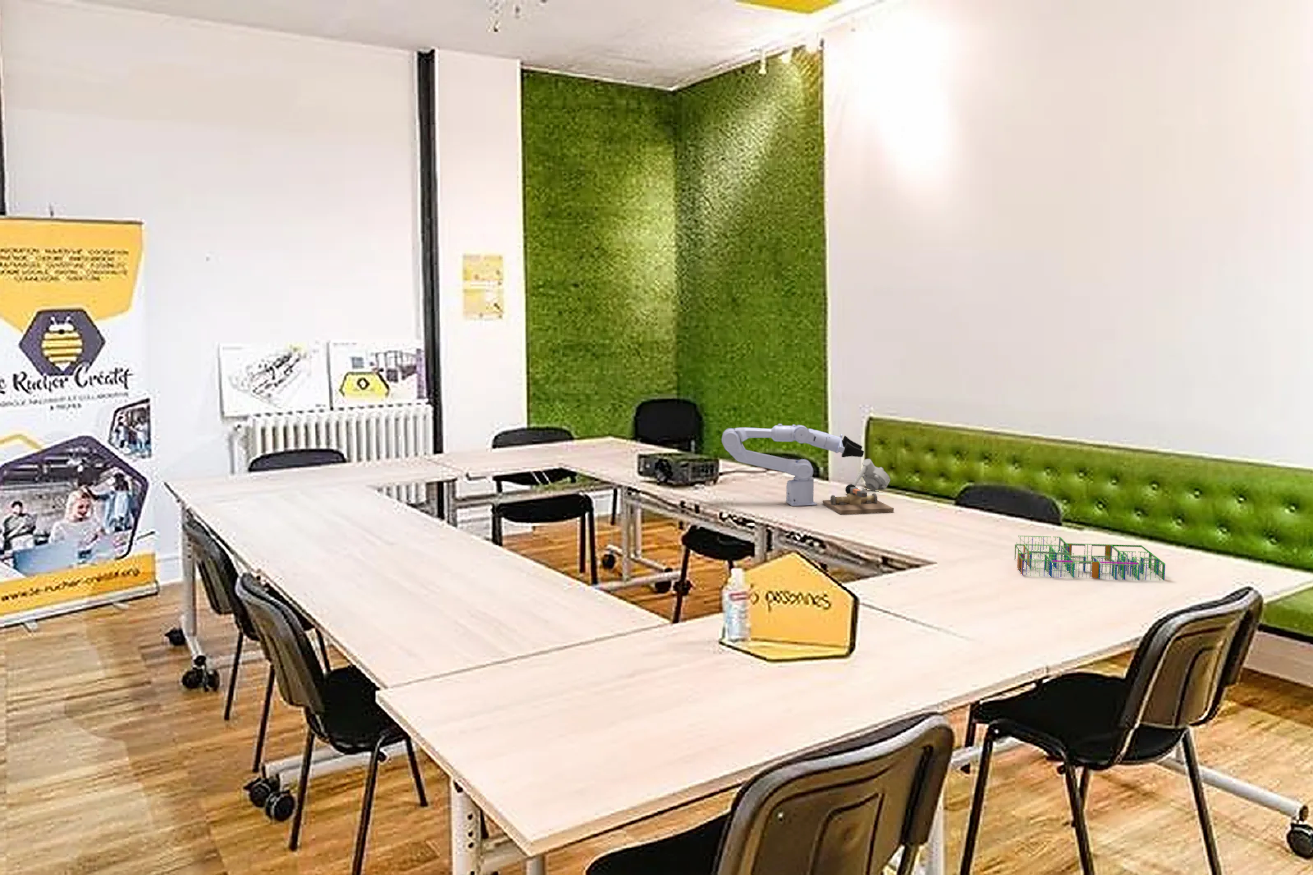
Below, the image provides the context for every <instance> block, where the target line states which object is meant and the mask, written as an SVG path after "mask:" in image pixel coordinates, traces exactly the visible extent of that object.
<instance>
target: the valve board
mask: <svg viewBox="0 0 1313 875" xmlns="http://www.w3.org/2000/svg"><path fill="white" fill-rule="evenodd" d="M822 505H823V506H825V507H827V508H828V509H830V510H832V511H834V512H835V513H837V514H839V515H841V516H842V515H843V516H847V515H865V514H866V515H867V514H869V515H870V514H887V513H892V514H893V513H895V512H894V511H895V510H894V507H893V506H890V505H888V504H886V503H884V502H882V501H880V500H878V495H877V493H872V494H871V495H867V497H862V498H861V497H859V496H857V494H855V493H853V494H847V493H846V496H836V495H834V494H832V495H831V496H830V499H822Z"/></svg>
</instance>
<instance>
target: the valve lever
mask: <svg viewBox="0 0 1313 875" xmlns="http://www.w3.org/2000/svg"><path fill="white" fill-rule="evenodd" d="M850 493H855V494H857V496H859V497H861V498H862V497H867V496H868V492H866V491H864V490H861V489H859V487H858V486H856V487H851V488H850Z"/></svg>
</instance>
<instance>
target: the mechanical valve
mask: <svg viewBox="0 0 1313 875" xmlns="http://www.w3.org/2000/svg"><path fill="white" fill-rule="evenodd" d="M861 478H862V479H863V481H864V482H865V483H864V484H865V487H866V488H867V489H868V490H870V491H875V492H876V491H877V490H882V491H883V490H886V488H888V485H889V483H890V481H891V477H890V476H889V474H888V473H887V472H886V471H885V470H884V467H882V466H880V467H878V466H875V464H874V463H873V461H872V459H871V458H866V459H864V460H863V461H862V468H861V469H860V471H859V473H858V475H857V476H856V477H855V479H854V480H853V482H852V483H850V484H847V485H846V486H845V493H846V495H847V494H853V493H850V488H851V487H857V485H858V483H859V481H860V480H861Z"/></svg>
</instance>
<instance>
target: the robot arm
mask: <svg viewBox="0 0 1313 875" xmlns="http://www.w3.org/2000/svg"><path fill="white" fill-rule="evenodd" d="M753 438H755V439H756V438H757V439H759V438H761V439H763V438H764V439H765V438H767V439H769V438H771V439H772V440H773V442H789V443H790V442H791V443H792V442H797V443H798V444H808V445H811V446H813V447H815V448H820V449H823V450H827V451H830V452H833V453H835V454H838V453H840V454H841V458H846V457H855V458H863V457H864V454H865V450H863V446H862V445H861V444H859V443H856V442H855V441H853V440H851V439H850V438H849V437H848V436H847V435H844V434H843V433H840V436H838V435H835V434H831V433H828V432H825V431H821V430H817V429H813V428H807V427H806V426H805V425H801V424H797V425H796V424H792V425H783V423H778V424H777V425H774V426H772V428H763V427H762V428H759V427H745V426H744V427H735V428H734V427H733V428H732V427H728V428H726V429H725V430H724V431H723V432H722V436H721V443H722V445H723V447H724V450H725V451H727V452H728V453H729V455H730V456H732V458H734V459H735V460H736V461H737V462H739V463H743V464H747V465H752V466H755V467H756V466H757V467H761V468H763V469H764V468H765V469H770V470H774V471H778V472H779V471H780V472H783V473H787V474H789V475H791V476H793V479H789V480H787V481H786V486H785V487H786V490H785V491H786V494H785V495H786V496H785V497H786V500H785V503H787V504H788V505H790V506H791V507H797V506H817V505H818V503H817V502H815V501H814V492H815V491H814V484H815V483H814V479H815V478H814V477H813V474H814V468H813V466H812V463H811V461H809V460H808V459H806V458H804V459H803V458H801V459H793V458H792V459H790V458H789V459H788V458H785V457H784V458H783V457H781V456H775V455H772V454H771V455H770V454H766V453H762V452H757V451H752V450H749V449H746V448H745V446H744V444H743V442H745V441H747V440H748V439H753Z"/></svg>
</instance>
